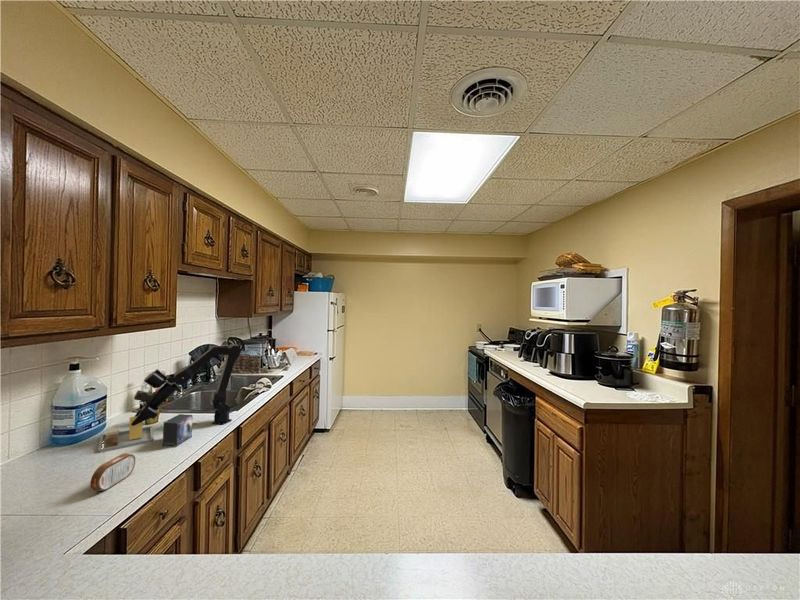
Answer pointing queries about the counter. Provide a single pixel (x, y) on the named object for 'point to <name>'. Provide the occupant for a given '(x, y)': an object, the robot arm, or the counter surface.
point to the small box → (177, 430)
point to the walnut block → (111, 440)
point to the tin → (112, 472)
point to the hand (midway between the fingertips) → (131, 423)
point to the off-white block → (112, 431)
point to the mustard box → (135, 429)
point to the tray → (125, 442)
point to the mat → (162, 427)
